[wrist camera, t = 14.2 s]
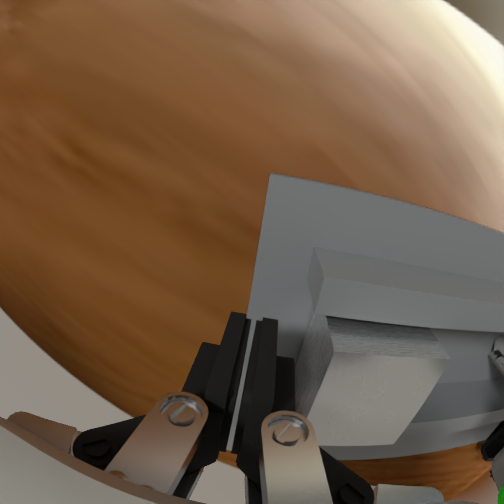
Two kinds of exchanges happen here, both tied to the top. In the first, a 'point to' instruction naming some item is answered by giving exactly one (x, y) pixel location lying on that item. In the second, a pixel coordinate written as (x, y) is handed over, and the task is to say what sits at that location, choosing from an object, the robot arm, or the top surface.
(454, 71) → the top surface
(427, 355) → the grey matte cube
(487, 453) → the end cap
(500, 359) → the mechanical component
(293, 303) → the grey railed base plate
